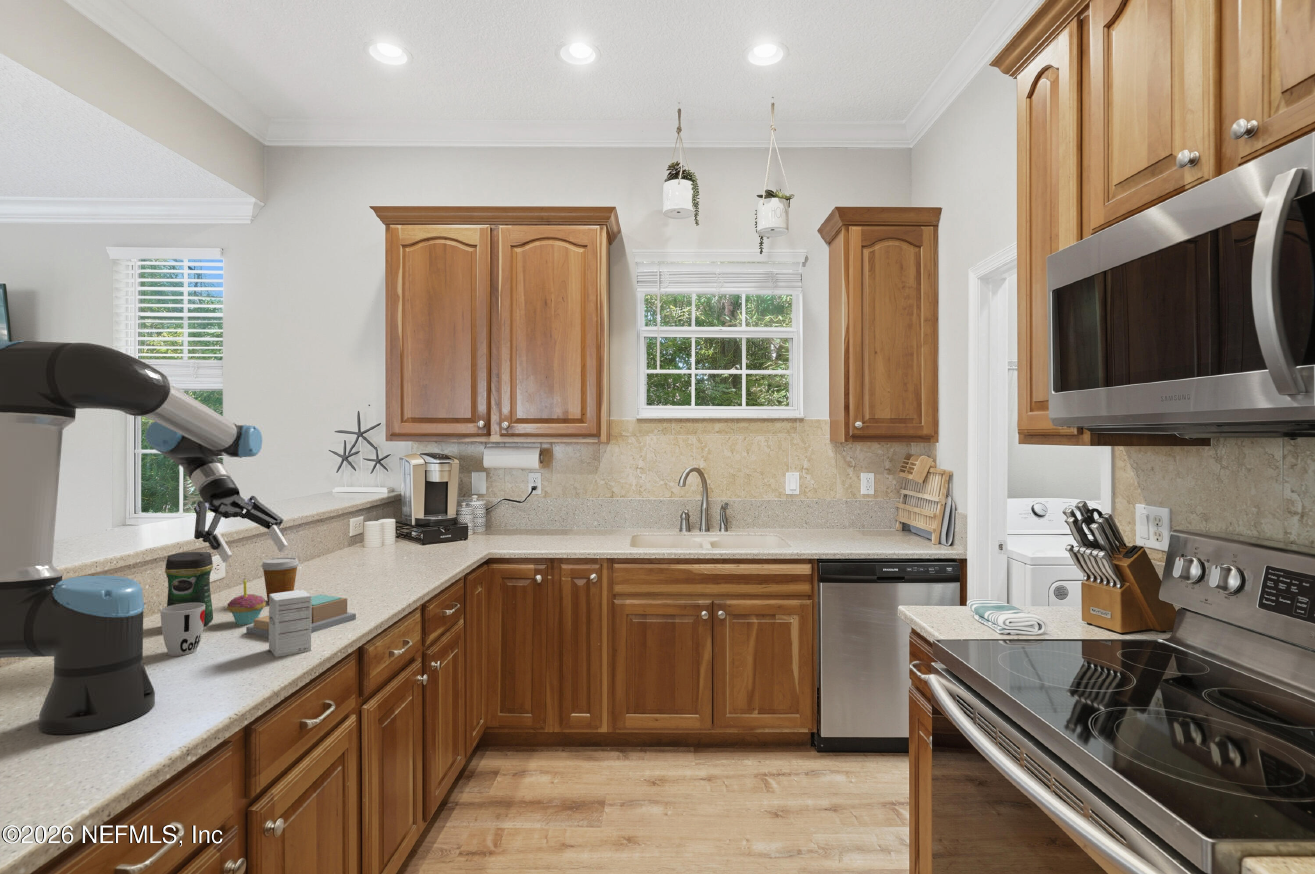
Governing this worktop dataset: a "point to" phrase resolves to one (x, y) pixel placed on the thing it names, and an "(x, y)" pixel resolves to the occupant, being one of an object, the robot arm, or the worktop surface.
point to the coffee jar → (190, 580)
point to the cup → (182, 627)
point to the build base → (313, 626)
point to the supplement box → (289, 622)
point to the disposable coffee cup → (279, 574)
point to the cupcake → (246, 607)
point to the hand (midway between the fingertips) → (257, 553)
